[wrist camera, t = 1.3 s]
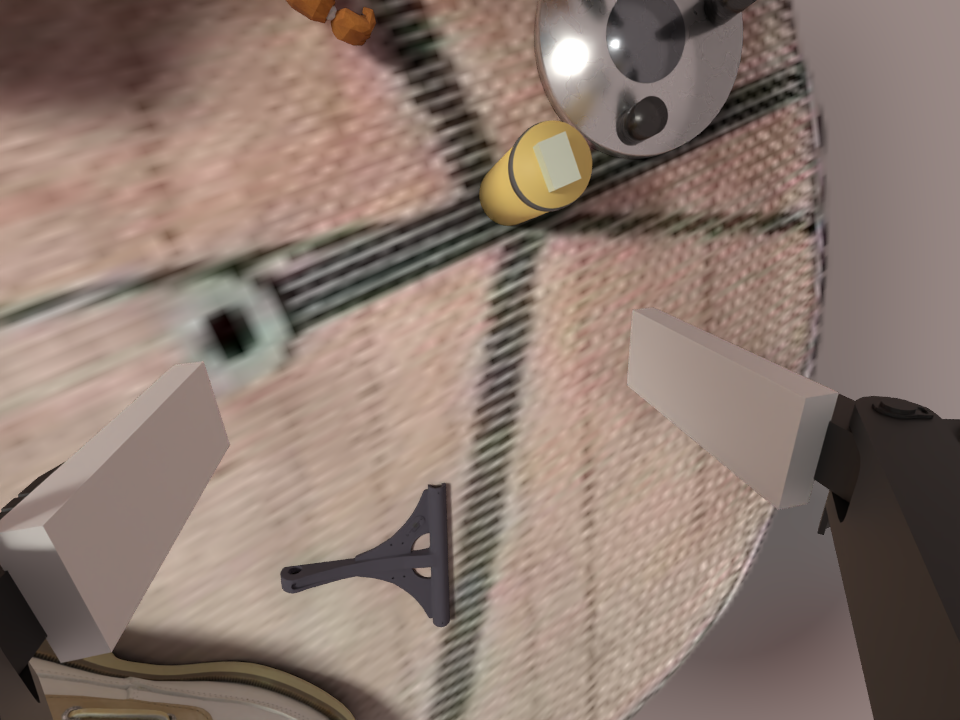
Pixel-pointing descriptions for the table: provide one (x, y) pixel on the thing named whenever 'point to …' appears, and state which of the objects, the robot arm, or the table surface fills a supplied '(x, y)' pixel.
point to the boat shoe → (177, 691)
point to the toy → (338, 19)
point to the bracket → (395, 560)
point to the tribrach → (638, 68)
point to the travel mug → (537, 174)
